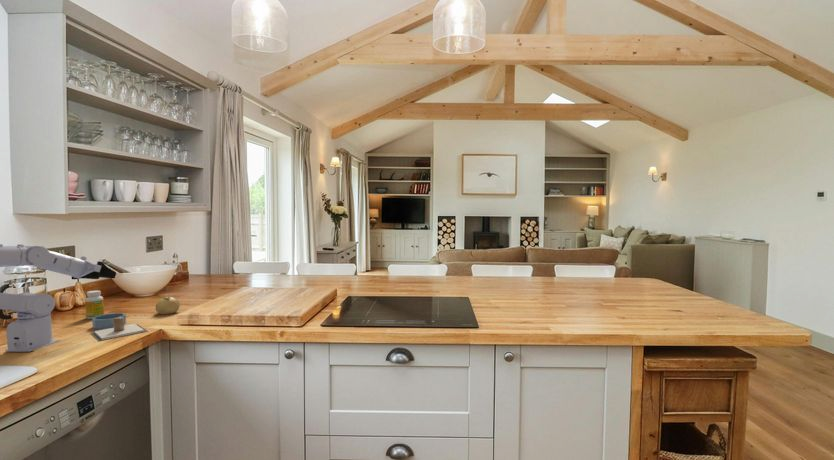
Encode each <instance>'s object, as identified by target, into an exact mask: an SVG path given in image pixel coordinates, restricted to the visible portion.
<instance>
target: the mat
mask: <svg viewBox="0 0 834 460" xmlns="http://www.w3.org/2000/svg"><path fill="white" fill-rule="evenodd" d="M136 325H137V326H139V327H140V328H142V329H143V330H144V332H140V333H135V334H130V335H125V336H120V337H115V338H110V339H105V340H101V339H100V338H99V337H98V336H97V335H96V334H95V333H94V332H90V333H89V334H90V335H91V336H92V337H93V338H94V339H95V341H97V342H99V343H100V342H105V341H110V340H114V339H119V338H124V337H128V336H134V335H138V334H145V333H148V332H149V331H148V330H147V329H145V328H144V327H142V326H141V325H139V324H136Z"/></svg>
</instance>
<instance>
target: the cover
mask: <svg viewBox="0 0 834 460" xmlns="http://www.w3.org/2000/svg"><path fill="white" fill-rule="evenodd" d="M113 326H114V328H109V329H98V330H95V331H94V332H93V333H95V334H96V335H97V336H98V337H99V338H100V339H101V340H105V339H110V338H115V337H120V336H125V335H130V334H135V333H140V332H144V330H143V329H142V328H143V327H142V328H140V327H139V326H140V325H139V326H137V324H136V323H131V324H125V325H124V317H117V318H114V319H113ZM140 334H141V333H140ZM135 335H136V334H135ZM130 336H131V335H130ZM125 337H126V336H125ZM120 338H121V337H120ZM115 339H116V338H115ZM110 340H111V339H110ZM105 341H106V340H105Z"/></svg>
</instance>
